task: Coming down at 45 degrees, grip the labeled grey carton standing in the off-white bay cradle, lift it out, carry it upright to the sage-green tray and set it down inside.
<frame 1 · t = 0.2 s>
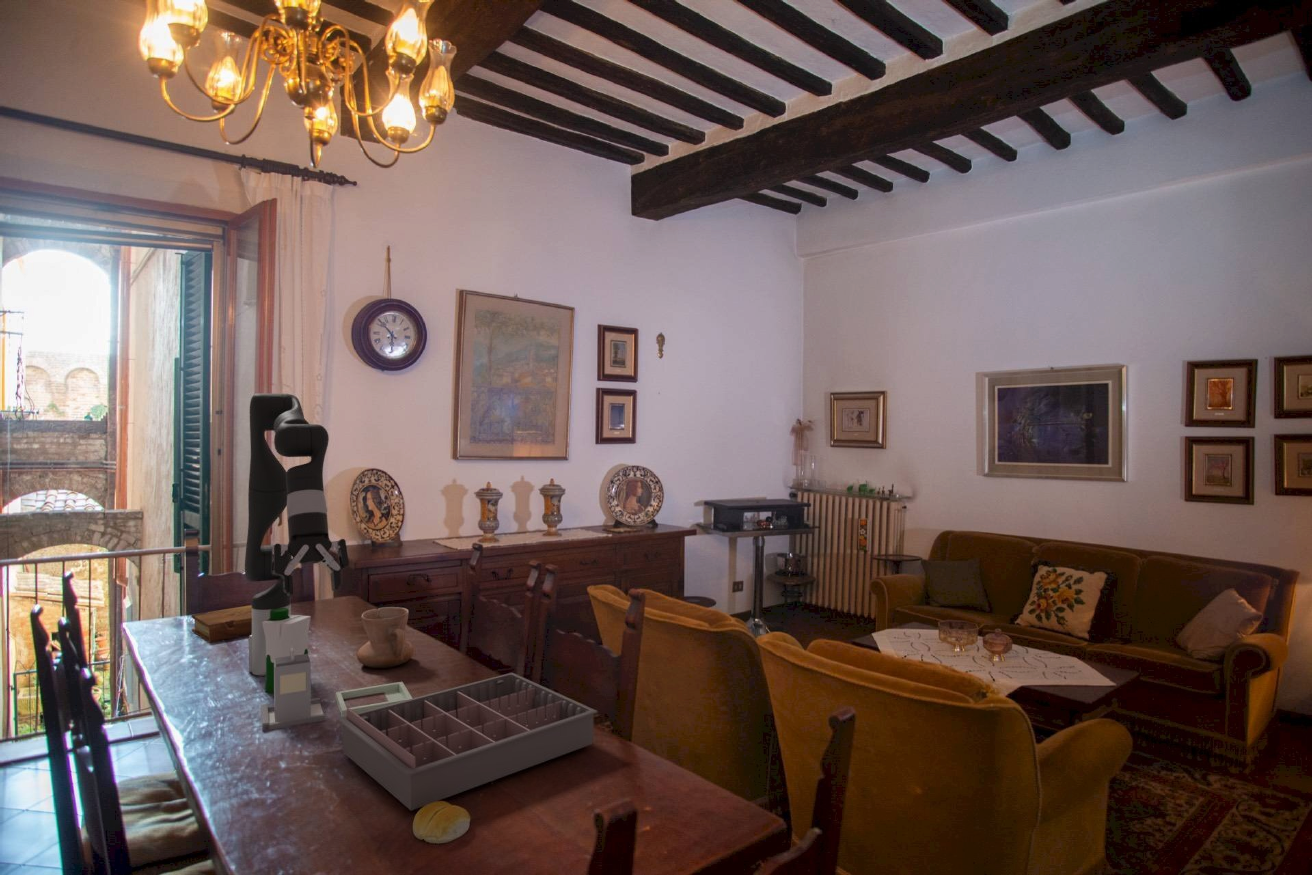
hand: (313, 592, 151), 31 cm above the table, tool tilted 20°, fingers open, 8 cm apart
diary: (241, 631, 237), on the table
labeled grey carton: (292, 715, 164), point 1 cm above the table, touching bay
milk carton: (287, 692, 182), on the table
ceramic jug: (386, 664, 203), on the table
bread roll: (441, 831, 120), on the table
tray: (373, 706, 173), on the table
bay: (292, 720, 164), on the table
organizer tray: (469, 755, 148), on the table
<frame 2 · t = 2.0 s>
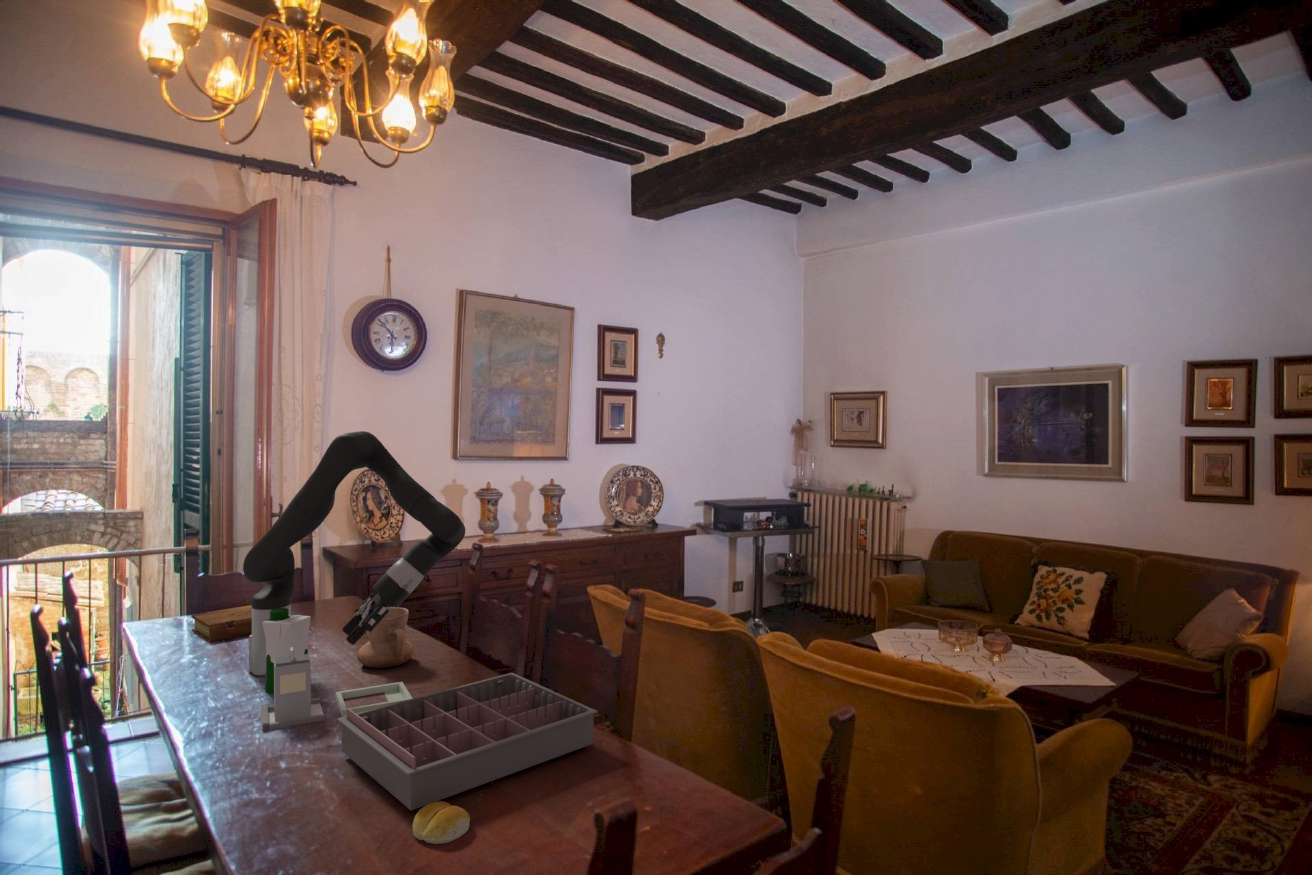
hand: (347, 637, 169), 17 cm above the table, tool tilted 45°, fingers open, 8 cm apart
nothing on the table moved.
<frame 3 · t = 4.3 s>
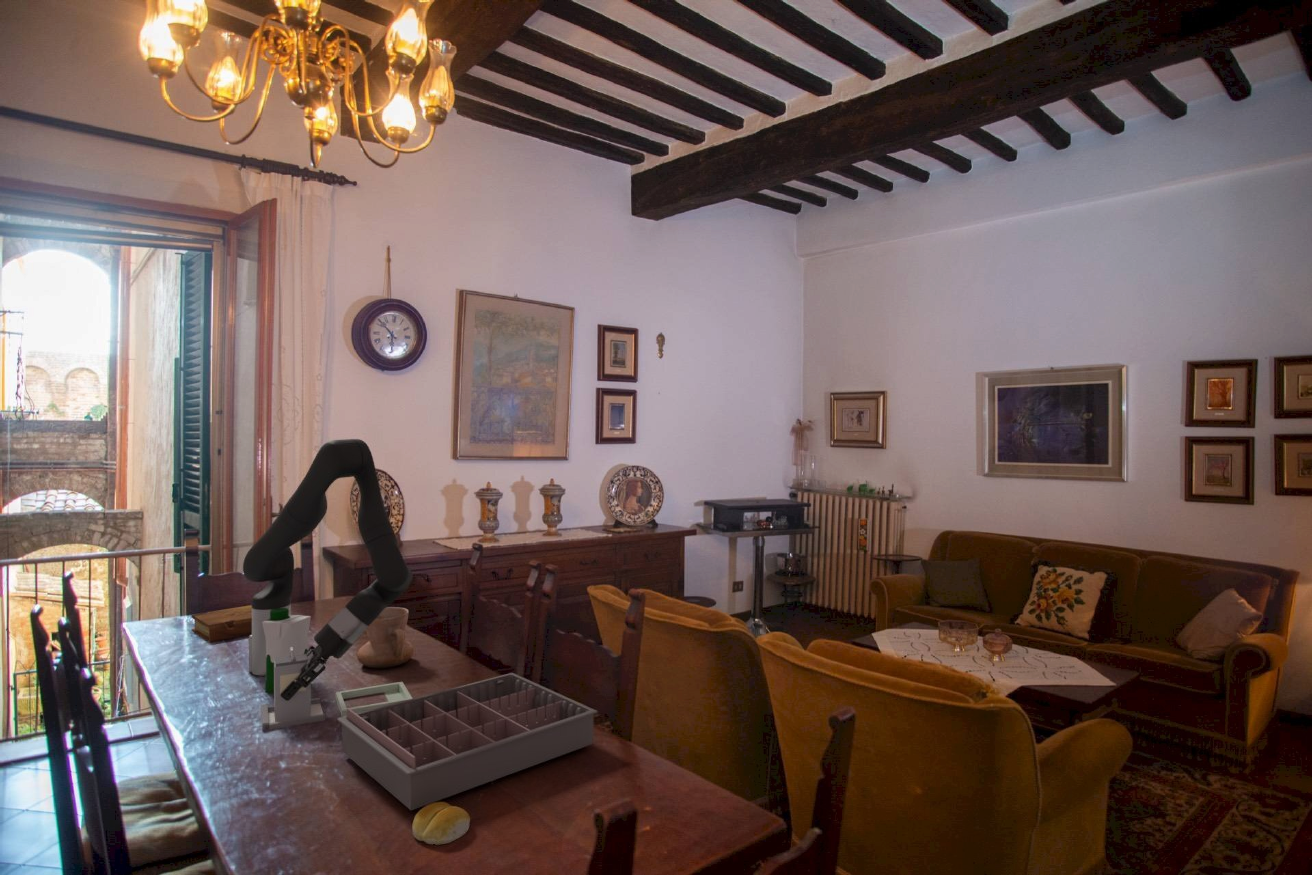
hand: (283, 693, 163), 6 cm above the table, tool tilted 45°, fingers closed on labeled grey carton, 5 cm apart
labeled grey carton: (292, 715, 164), point 1 cm above the table, touching bay, gripper
everything else where it was.
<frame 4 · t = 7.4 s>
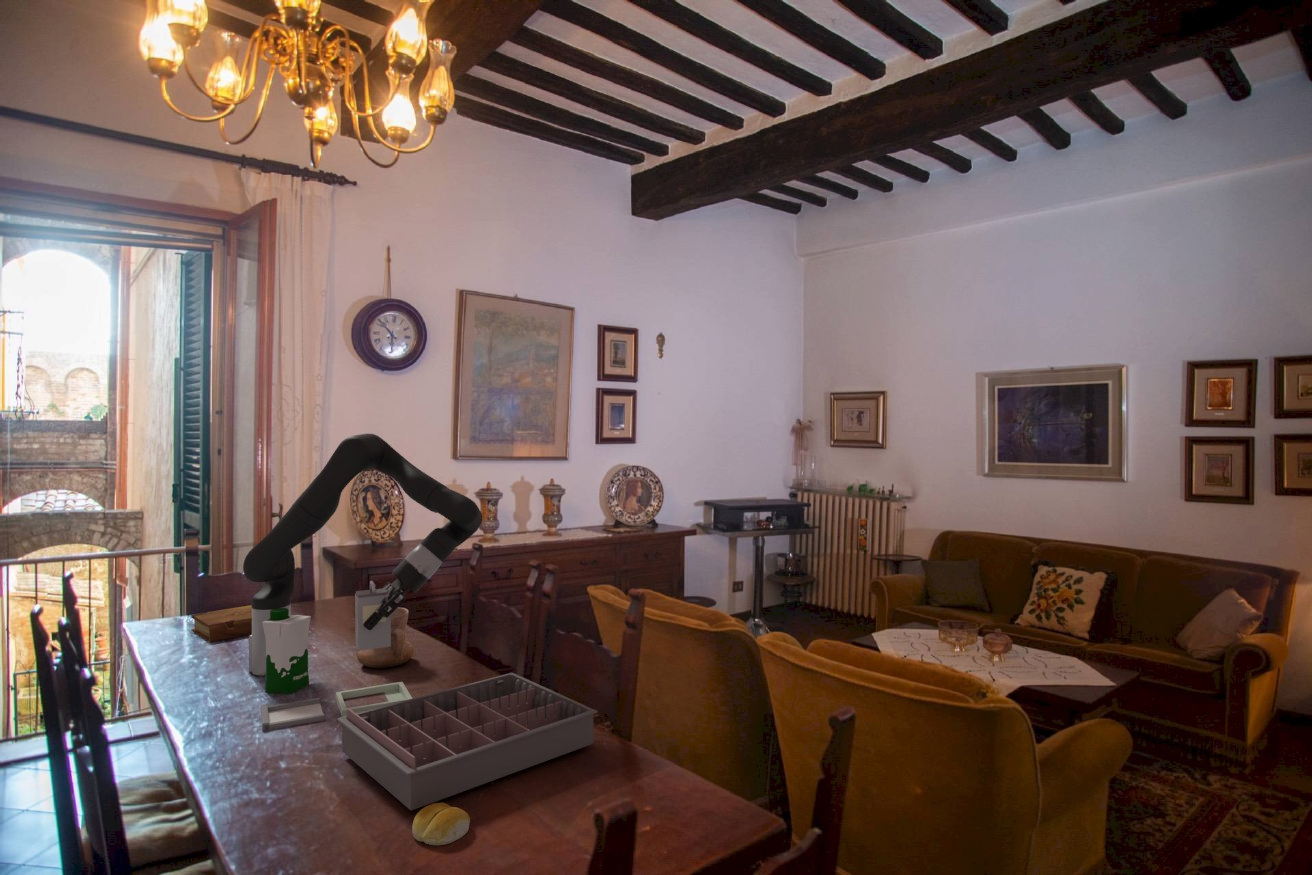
hand: (364, 624, 171), 19 cm above the table, tool tilted 45°, fingers closed on labeled grey carton, 5 cm apart
labeled grey carton: (373, 645, 172), point 14 cm above the table, touching gripper
everything else where it was.
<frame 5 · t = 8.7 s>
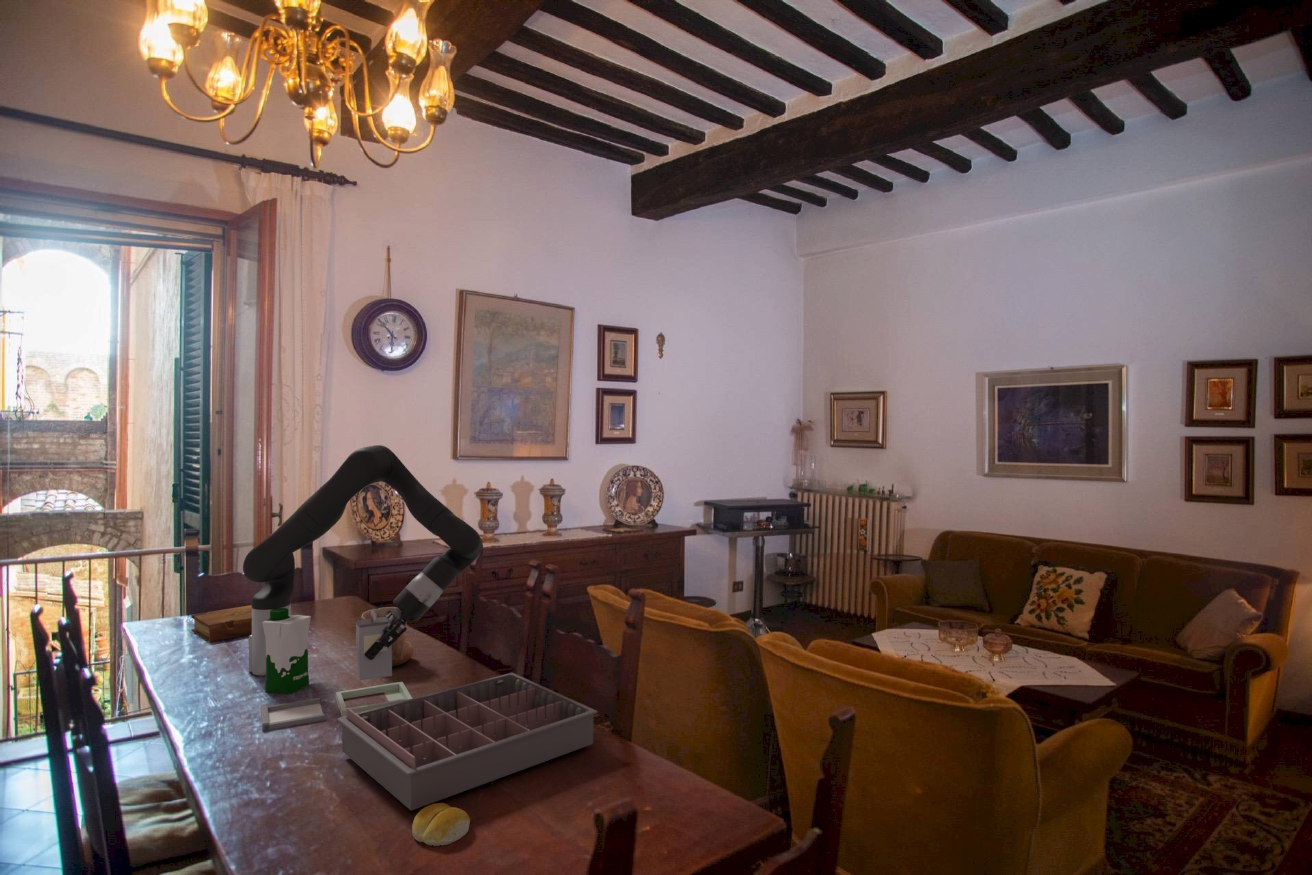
hand: (365, 653, 172), 12 cm above the table, tool tilted 45°, fingers closed on labeled grey carton, 5 cm apart
labeled grey carton: (374, 674, 173), point 7 cm above the table, touching gripper
everything else where it was.
when the fingers open (7 cm above the table, at t = 10.1 s): labeled grey carton drops 1 cm, resting on tray.
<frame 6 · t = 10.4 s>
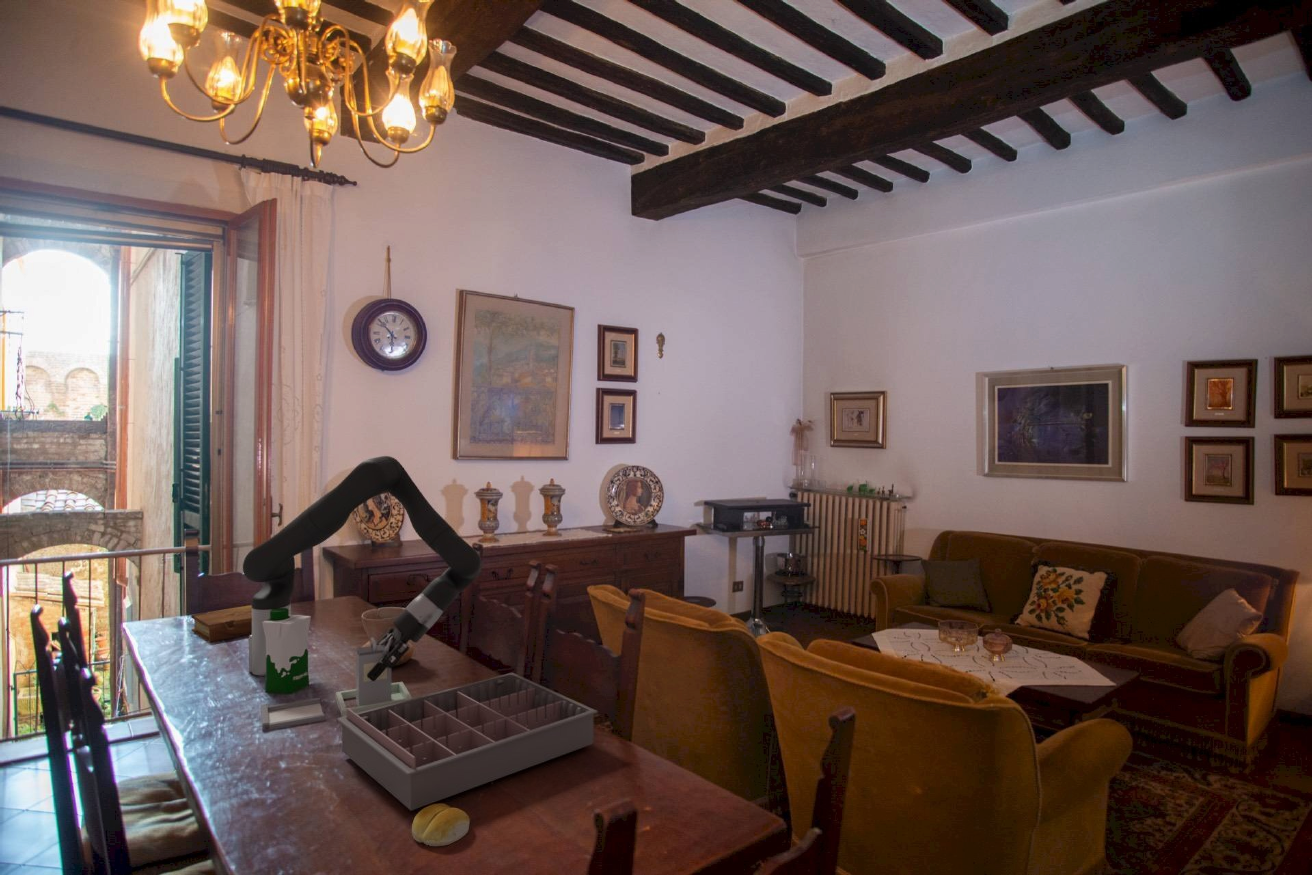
hand: (367, 673, 172), 8 cm above the table, tool tilted 45°, fingers open, 8 cm apart
labeled grey carton: (373, 702, 173), point 1 cm above the table, touching tray
everything else where it was.
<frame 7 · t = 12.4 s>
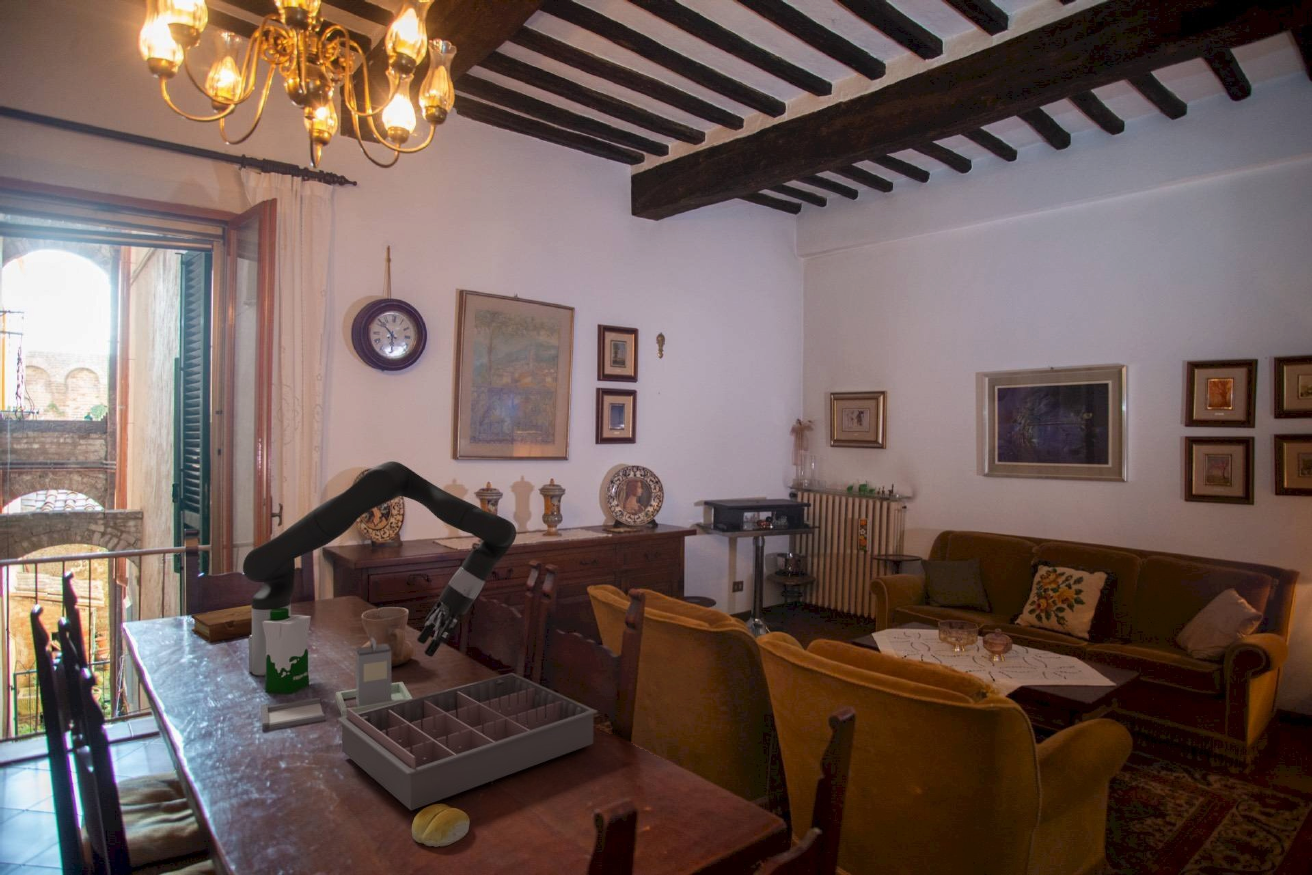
hand: (423, 648, 179), 11 cm above the table, tool tilted 35°, fingers open, 8 cm apart
nothing on the table moved.
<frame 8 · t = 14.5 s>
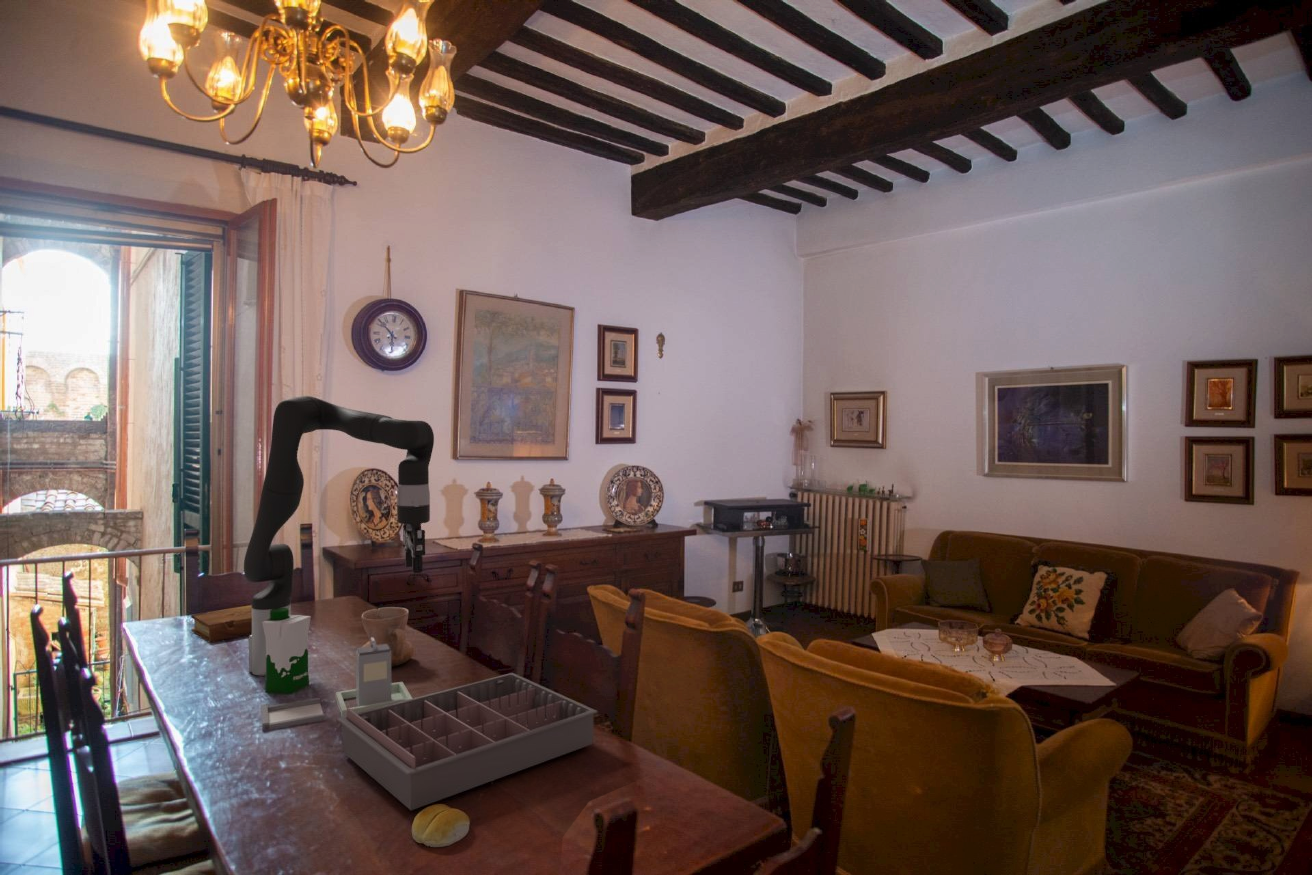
hand: (413, 569, 181), 30 cm above the table, tool pointing down, fingers open, 8 cm apart
at the end: labeled grey carton inside the target area on the tray (0.1 cm from its centre), point 0.8 cm above the tray's base; labeled grey carton tilted 0°; the gripper is holding nothing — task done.
